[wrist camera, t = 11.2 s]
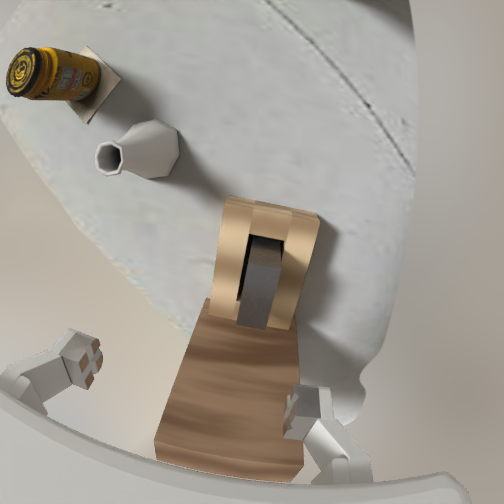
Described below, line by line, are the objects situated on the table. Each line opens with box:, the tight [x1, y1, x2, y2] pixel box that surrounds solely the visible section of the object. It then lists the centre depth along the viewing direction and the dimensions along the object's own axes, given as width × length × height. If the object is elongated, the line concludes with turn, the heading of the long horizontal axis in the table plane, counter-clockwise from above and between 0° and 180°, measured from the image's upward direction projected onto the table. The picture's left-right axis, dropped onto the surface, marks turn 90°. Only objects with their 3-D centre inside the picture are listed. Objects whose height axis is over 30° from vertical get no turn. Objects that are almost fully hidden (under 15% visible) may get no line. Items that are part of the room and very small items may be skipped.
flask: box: [95, 119, 180, 179], centre depth 27 cm, size 7×7×10 cm
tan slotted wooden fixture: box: [154, 196, 320, 482], centre depth 27 cm, size 18×12×22 cm, turn 170°
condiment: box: [6, 46, 121, 124], centre depth 23 cm, size 7×8×12 cm
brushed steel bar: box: [236, 235, 281, 330], centre depth 32 cm, size 7×3×9 cm, turn 170°
